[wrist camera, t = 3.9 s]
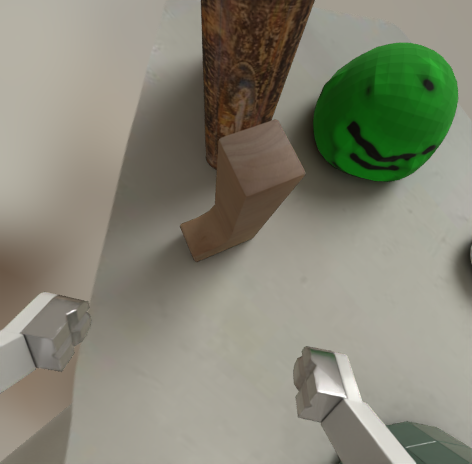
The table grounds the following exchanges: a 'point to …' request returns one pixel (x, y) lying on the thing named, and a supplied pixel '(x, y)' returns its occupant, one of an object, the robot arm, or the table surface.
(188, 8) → the table surface
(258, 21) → the book
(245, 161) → the wooden block
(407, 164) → the toy
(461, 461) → the bowl
